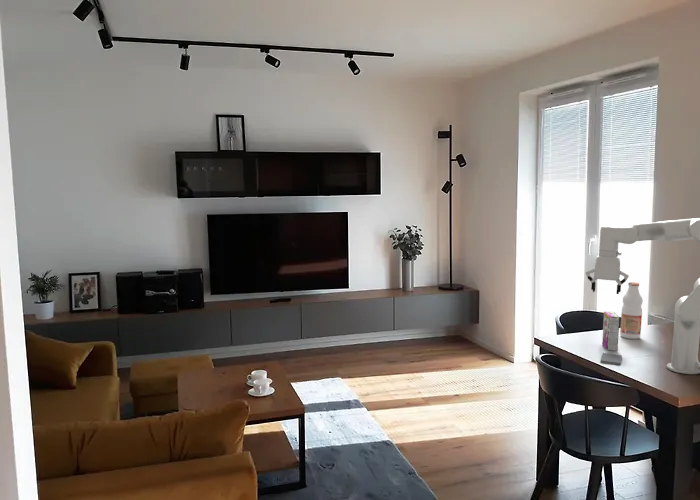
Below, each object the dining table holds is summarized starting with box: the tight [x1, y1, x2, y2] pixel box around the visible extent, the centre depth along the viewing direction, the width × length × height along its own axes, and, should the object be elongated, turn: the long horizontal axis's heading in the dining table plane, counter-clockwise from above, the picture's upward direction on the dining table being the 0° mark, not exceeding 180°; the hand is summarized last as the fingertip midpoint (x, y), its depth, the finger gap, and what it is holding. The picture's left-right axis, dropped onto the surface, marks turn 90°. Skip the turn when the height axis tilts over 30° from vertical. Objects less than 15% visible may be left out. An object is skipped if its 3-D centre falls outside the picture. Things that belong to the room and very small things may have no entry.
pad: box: [600, 352, 623, 366], centre depth 259 cm, size 8×13×1 cm, turn 153°
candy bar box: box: [601, 311, 621, 352], centre depth 278 cm, size 11×5×16 cm, turn 168°
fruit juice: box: [619, 281, 644, 340], centre depth 297 cm, size 9×9×28 cm
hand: (605, 292), depth 256 cm, fingers open, 9 cm apart
